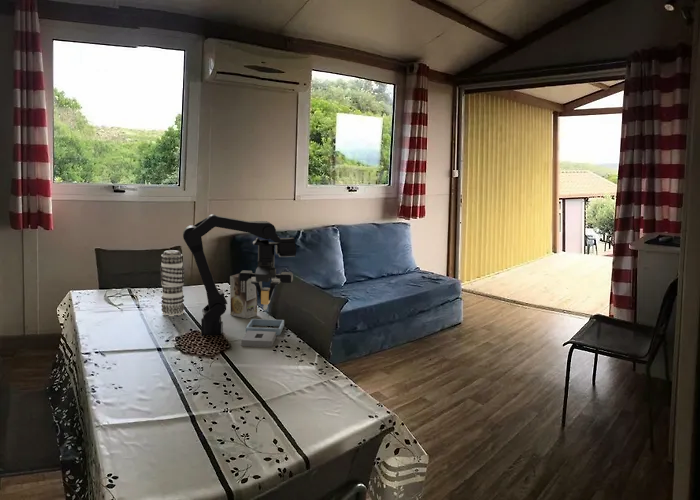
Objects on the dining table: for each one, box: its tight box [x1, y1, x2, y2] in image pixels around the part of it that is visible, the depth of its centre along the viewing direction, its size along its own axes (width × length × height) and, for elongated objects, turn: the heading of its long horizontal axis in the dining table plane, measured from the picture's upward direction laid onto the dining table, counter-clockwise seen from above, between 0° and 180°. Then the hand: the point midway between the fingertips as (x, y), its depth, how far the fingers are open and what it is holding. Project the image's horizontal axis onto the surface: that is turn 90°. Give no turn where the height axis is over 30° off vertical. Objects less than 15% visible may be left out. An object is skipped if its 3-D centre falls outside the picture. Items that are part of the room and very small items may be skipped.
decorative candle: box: [159, 249, 185, 317], centre depth 212 cm, size 9×9×25 cm
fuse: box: [260, 287, 271, 311], centre depth 193 cm, size 3×4×7 cm, turn 0°
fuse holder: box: [240, 331, 277, 348], centre depth 182 cm, size 10×10×3 cm
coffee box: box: [229, 273, 258, 320], centre depth 214 cm, size 9×6×16 cm
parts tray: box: [245, 318, 285, 336], centre depth 195 cm, size 12×11×3 cm
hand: (265, 300), depth 193 cm, fingers closed on fuse, 3 cm apart
